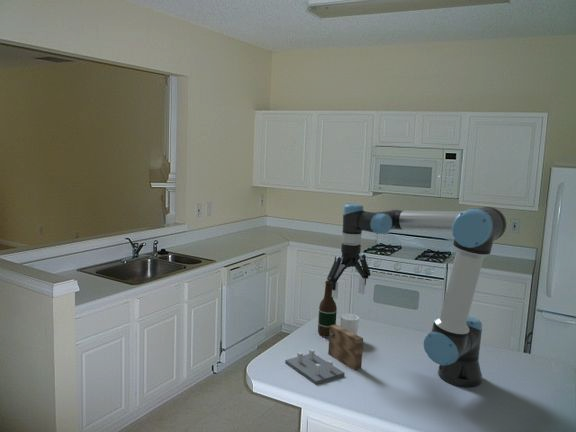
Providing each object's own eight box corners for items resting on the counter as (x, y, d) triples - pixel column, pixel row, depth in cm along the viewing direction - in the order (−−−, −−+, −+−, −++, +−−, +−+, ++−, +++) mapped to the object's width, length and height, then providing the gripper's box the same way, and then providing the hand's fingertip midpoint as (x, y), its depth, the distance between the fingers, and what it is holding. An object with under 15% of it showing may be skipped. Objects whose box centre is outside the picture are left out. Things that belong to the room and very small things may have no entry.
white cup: (343, 343, 207) (344, 320, 205) (336, 335, 214) (338, 314, 213) (360, 341, 209) (362, 319, 207) (353, 334, 216) (354, 313, 215)
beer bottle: (316, 335, 213) (319, 282, 210) (319, 329, 221) (322, 277, 217) (333, 338, 212) (337, 284, 208) (336, 331, 219) (339, 279, 216)
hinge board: (344, 375, 177) (345, 363, 177) (315, 384, 170) (316, 371, 169) (312, 355, 193) (313, 344, 192) (285, 362, 186) (285, 351, 185)
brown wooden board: (361, 368, 184) (363, 338, 182) (353, 371, 182) (355, 340, 180) (334, 352, 197) (335, 324, 195) (326, 354, 195) (328, 325, 193)
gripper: (369, 239, 203) (365, 289, 206) (319, 243, 190) (317, 296, 193) (381, 242, 196) (378, 294, 199) (331, 247, 183) (328, 302, 186)
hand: (348, 295), depth 196 cm, fingers open, 13 cm apart
